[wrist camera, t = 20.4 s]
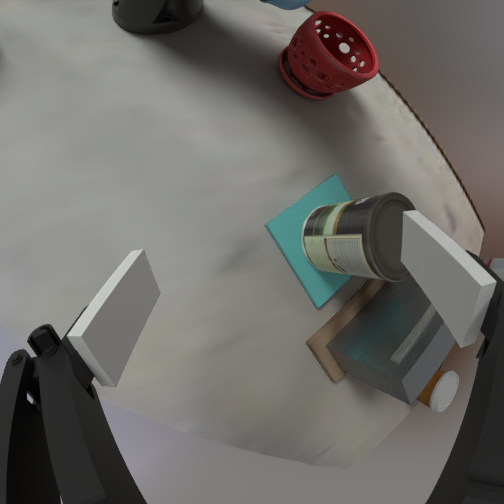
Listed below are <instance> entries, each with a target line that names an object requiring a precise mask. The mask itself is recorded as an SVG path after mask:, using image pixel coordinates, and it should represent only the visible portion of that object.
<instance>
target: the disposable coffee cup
mask: <svg viewBox="0 0 504 504" xmlns="http://www.w3.org/2000/svg"><path fill="white" fill-rule="evenodd" d="M458 384H459V377H458V375H457V374H455V372H454V371H448V372H446V371H441V370H437V371H436V372H435V374H434V375H433V377H432V378H431V379H430V381H429V382H428V384H427V385H426V386H425V388H424V389H423V390H422V392H421V393H420V394H419V395H418V397H417V398H416V399H417V400H419V401H421V402H422V403H424V404H425V405H426V406H428V407H430V409H431V410H432V411H433V412H442V411H444V410H445V409H446V408H447V407H448V406H449V404H450V403H451V401H452V400H453V398H454V396H455V394H456V391H457V388H458Z"/></svg>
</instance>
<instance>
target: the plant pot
mask: <svg viewBox="0 0 504 504" xmlns="http://www.w3.org/2000/svg"><path fill="white" fill-rule="evenodd" d="M318 20H321V23H320V24H318V25H315V22H316V21H318ZM325 26H331V27H330V28H325ZM316 29H320V30H321V31H320V32H319V33H317V31H316ZM336 33H342V34H343V37H338V36H337V35H336ZM325 34H328V35H329V37H328V38H325V37H324V35H325ZM349 37H352V38H353V39H354V42H351V41H350V40H349ZM341 43H346V44H348V46H349V47H350V51H349V52H348V53H343V52H341V50H340V48H339V45H340V44H341ZM357 50H359V51H360V54H359V55H358V54H357ZM352 56H355V58H356V61H355V62H352V61H351V57H352ZM362 61H364V66H363V67H360V63H361V62H362ZM378 66H379V63H378V58H377V55H376V52H375V50H374V48H373V46H372V44H371V43H370V41H369V40H368V39H367V37H366V36H365V35H364V34H363V33H362V31H361V30H360V29H359V28H357V27H356V26H355V25H354V24H353V23H351V22H350V21H349V20H347V19H346V18H344V17H342V16H340V15H338V14H335V13H332V12H329V11H319V12H316V13H314V14H313V15H311V16H310V17H309V18H308V19H307V20H306V21H305V22H304V23H303V24H302V25H301V26H300V27H299V28H298V30H297V31H296V33H295V34H294V36H293V37H292V39H291V42H290V44H289V46H287V47H285V48H284V49H283V50H282V51H281V53H280V56H279V68H280V71H281V74H282V76H283V77H284V79H285V80H286V82H287V83H288V84H289V85H290V86H291V87H292V88H293V89H294V90H295V91H297V92H298V93H300V94H301V95H303V96H305V97H307V98H311V99H315V100H323V99H327V98H330V97H331V96H333V95H334V93H337V92H342V91H346V90H349V89H351V88H354V87H356V86H358V85H361V84H363V83H364V82H366V81H368V80H370V79H372V78H373V77H375V75H376V74H377V72H378V68H379V67H378ZM354 68H357V71H356V72H355V71H353V69H354Z"/></svg>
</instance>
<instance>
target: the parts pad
mask: <svg viewBox="0 0 504 504" xmlns="http://www.w3.org/2000/svg"><path fill="white" fill-rule="evenodd" d="M347 201H352V200H351V198H350V197H349V195H348V193H347V191H346V189H345V187H344V185H343V184H342V182H341V180H340V178H339V176H338V175H337V174H334V175H333V176H331V177H330V178H329V179H327V180H326V181H324V182H323V183H322V184H320V185H319V186H318V187H316V188H315V189H313V190H312V191H311V192H309V193H308V194H307V195H305V196H304V197H302V198H301V199H300V200H298V201H297V202H296V203H294V204H293V205H291V206H290V207H289V208H287V209H286V210H285V211H283V212H282V213H280V214H279V215H278V216H276V217H275V218H274V219H272V220H271V221H270V222H268V223H267V224H266V225H265V227H266V228H267V230H268V231H269V233H270V234H271V236H272V238H273V239H274V241H275V242H276V244H277V246H278V247H279V249H280V250H281V252H282V254H283V255H284V257H285V258H286V260H287V262H288V263H289V265H290V267H291V268H292V270H293V271H294V273H295V275H296V276H297V278H298V280H299V281H300V283H301V284H302V286H303V288H304V289H305V291H306V293H307V294H308V296H309V298H310V299H311V301H312V302H313V304H314V306H315V307H316V308H319V307H320V306H322V305H323V304H324V303H325V302H326V301H327V300H328V299H329V298H330V297H331V296H332V295H333V294H334V293H335V292H336V291H337V290H338V289H339V288H340V287H341V286H342V285H343V284H344V283H345V282H346V281H347V280H348V279H349V278H350V277H351V276H352V275H347V274H340V273H333V272H323V271H320V270H318V269H316V268H314V267H313V266H312V265H311V264H310V263H309V262H308V260H307V259H306V257H305V255H304V253H303V250H302V246H301V230H302V226H303V223H304V221H305V219H306V217H307V216H308V214H309V213H310V212H311V211H312V210H314V209H315V208H317V207H319V206H322V205H331V204H336V203H342V202H347Z"/></svg>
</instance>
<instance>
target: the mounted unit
mask: <svg viewBox="0 0 504 504" xmlns="http://www.w3.org/2000/svg"><path fill="white" fill-rule="evenodd" d="M455 342H456V339H455V338H454V336H453V334H452V333H451V331H450V330H449V328H448V327H447V325H446V324H445V322H444V320H443V319H442V317H441V316H440V314H439V313H438V311H437V310H436V308H435V307H434V306H433V304H432V303H431V301H430V300H429V298H428V297H427V295H426V294H425V293H424V291H423V290H422V288H421V287H420V286H419V284H418V283H417V282H416V280H415V279H414V277H413V276H412V275H410V276H409V277H408V278H406V279H405V280H403V281H401V282H396V283H395V282H388V281H385V280H382V279H375V278H370V279H369V280H368V281H367V283H366V284H365V285H364V286H363V287H362V288H361V289H360V290H359V291H358V292H357V293H356V294H355V295H354V296H353V297H352V298H351V299H350V300H349V301H348V302H347V303H346V304H345V305H344V306H343V307H342V308H341V309H340V310H339V311H338V312H337V313H336V314H335V315H334V316H333V317H332V318H331V319H330V320H329V321H328V322H327V323H326V324H325V325H324V326H323V327H322V328H321V329H320V330H319V331H318V332H317V333H316V334H314V335H313V336H312V337H311V338H310V339H309V340H308V341H307V342H306V344H307V345H308V347H309V348H310V350H311V351H312V353H313V354H314V356H315V357H316V359H317V360H318V362H319V363H320V365H321V366H322V368H323V369H324V371H325V372H326V374H327V375H328V376H329V378H330V379H331V381H333V382H335V383H337V382H338V381H339V380H340V379H341V378H342V377H343V376H344V375H345V374H346V373H349V374H351V375H353V376H355V377H357V378H359V379H360V380H362V381H364V382H366V383H368V384H370V385H372V386H374V387H376V388H378V389H380V390H381V391H383V392H385V393H387V394H389V395H391V396H393V397H395V398H397V399H399V400H401V401H403V402H405V403H407V404H409V405H411V404H412V403H413V402H414V401H415V399H416V398H417V397H418V395H419V394H420V393H421V392H422V390H423V389H424V388H425V386H426V385H427V384H428V382H429V381H430V379H431V378H432V377H433V375H434V374H435V372H436V371H437V369H438V368H439V367H440V365H441V364H442V362H443V361H444V359H445V358H446V356H447V354H448V353H449V351H450V350H451V348H452V346H453V345H454V343H455Z"/></svg>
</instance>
